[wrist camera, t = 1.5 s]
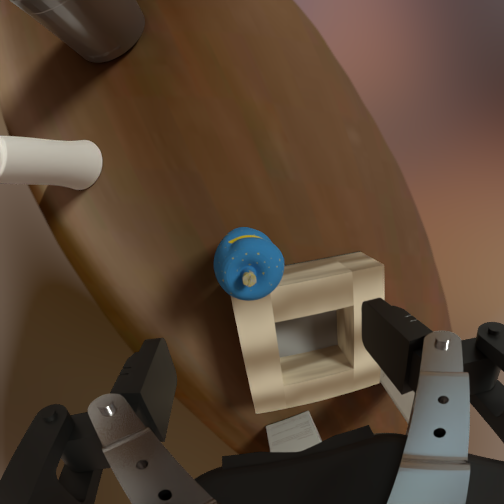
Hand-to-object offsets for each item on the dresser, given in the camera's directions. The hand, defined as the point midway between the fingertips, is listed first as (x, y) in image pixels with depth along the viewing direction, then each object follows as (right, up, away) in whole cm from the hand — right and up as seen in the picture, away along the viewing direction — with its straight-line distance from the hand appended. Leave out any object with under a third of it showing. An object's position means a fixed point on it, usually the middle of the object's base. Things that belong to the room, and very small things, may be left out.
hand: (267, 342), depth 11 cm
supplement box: (+6, -25, +30) cm, 39 cm away
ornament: (-2, +5, +22) cm, 23 cm away
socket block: (+6, -5, +25) cm, 26 cm away
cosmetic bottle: (-21, +14, +19) cm, 31 cm away
